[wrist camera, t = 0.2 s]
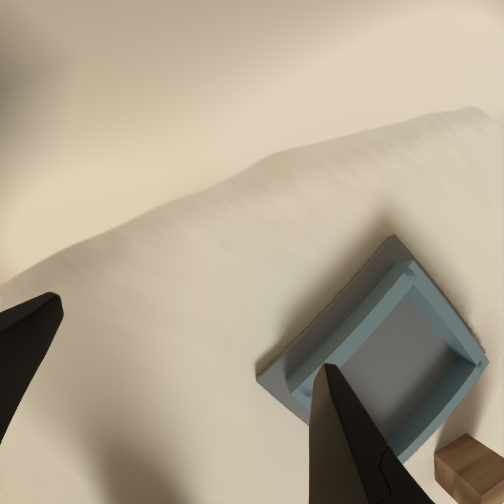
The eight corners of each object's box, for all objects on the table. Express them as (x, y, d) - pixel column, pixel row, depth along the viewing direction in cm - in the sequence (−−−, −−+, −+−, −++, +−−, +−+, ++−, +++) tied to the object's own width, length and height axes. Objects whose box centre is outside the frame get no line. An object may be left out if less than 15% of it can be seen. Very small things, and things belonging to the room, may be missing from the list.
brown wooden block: (465, 460, 23) (511, 495, 14) (434, 479, 23) (476, 522, 13) (466, 433, 23) (517, 467, 14) (433, 453, 23) (482, 495, 14)
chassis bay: (479, 350, 24) (504, 357, 20) (372, 471, 23) (386, 492, 19) (389, 235, 25) (411, 229, 21) (255, 377, 24) (257, 394, 20)
